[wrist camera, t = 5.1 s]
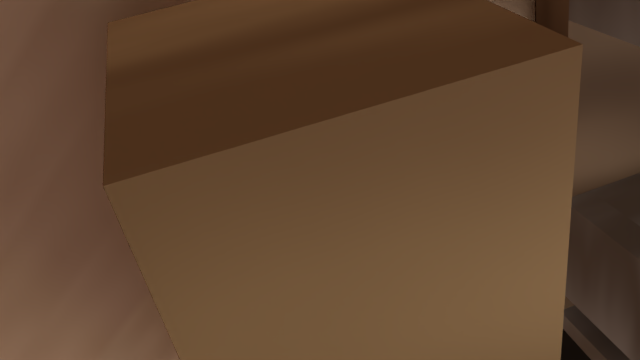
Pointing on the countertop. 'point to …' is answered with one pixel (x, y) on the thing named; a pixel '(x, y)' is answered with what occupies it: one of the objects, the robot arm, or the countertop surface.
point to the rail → (346, 176)
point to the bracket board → (604, 177)
